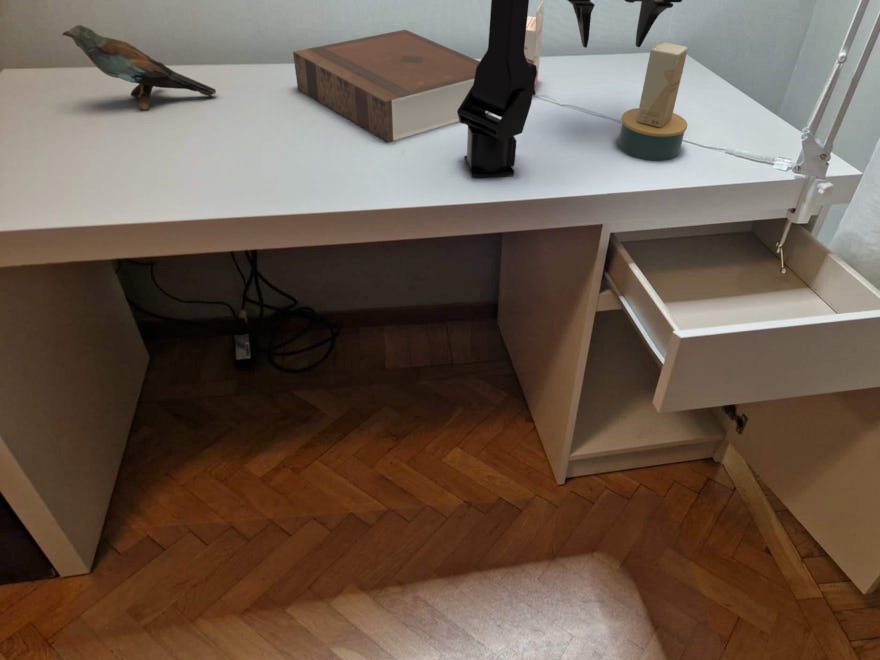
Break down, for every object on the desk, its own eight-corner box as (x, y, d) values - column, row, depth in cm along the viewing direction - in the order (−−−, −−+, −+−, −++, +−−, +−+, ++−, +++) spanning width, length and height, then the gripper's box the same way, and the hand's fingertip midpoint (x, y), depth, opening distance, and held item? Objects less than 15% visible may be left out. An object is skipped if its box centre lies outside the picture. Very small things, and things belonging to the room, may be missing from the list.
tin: (631, 162, 108) (636, 135, 105) (607, 135, 116) (612, 109, 113) (691, 159, 110) (698, 131, 107) (664, 132, 118) (670, 106, 115)
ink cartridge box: (512, 79, 134) (518, -4, 124) (537, 82, 133) (546, -1, 124) (505, 94, 128) (510, 8, 118) (531, 98, 127) (539, 11, 117)
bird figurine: (216, 80, 124) (126, -23, 110) (218, 101, 117) (123, -6, 103) (159, 123, 126) (62, 26, 112) (158, 146, 119) (55, 47, 105)
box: (660, 129, 107) (677, 55, 100) (635, 122, 109) (649, 48, 102) (672, 118, 111) (689, 46, 103) (647, 112, 112) (662, 40, 105)
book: (387, 142, 110) (385, 101, 105) (297, 89, 125) (292, 51, 121) (500, 108, 122) (502, 71, 118) (406, 64, 138) (405, 29, 133)
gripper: (589, -56, 94) (572, 63, 104) (713, -53, 97) (685, 62, 107) (564, -71, 102) (550, 41, 112) (679, -67, 105) (656, 40, 116)
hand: (611, 46), depth 111 cm, fingers open, 9 cm apart
